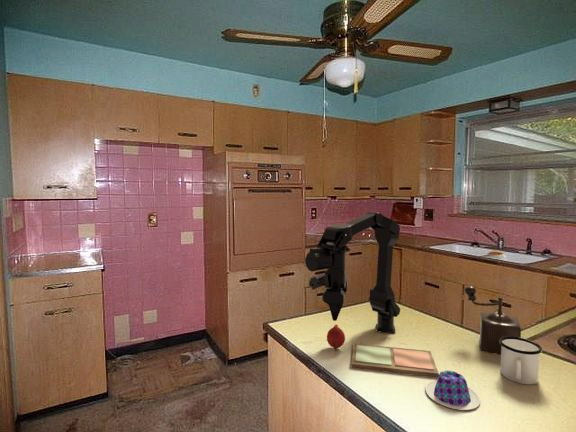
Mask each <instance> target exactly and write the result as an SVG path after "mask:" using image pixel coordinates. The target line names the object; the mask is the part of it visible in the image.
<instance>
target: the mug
mask: <svg viewBox="0 0 576 432" xmlns="http://www.w3.org/2000/svg"><path fill="white" fill-rule="evenodd" d="M499 343H500V345H501V355H500V368H499V369H500V373H501V375H502V376H503V377H505V378H506V379H508V380H510V381H512V382H515V383H518V384H522V385H536V384H537V383H538V382H539V376H540V375H539V372H540V370H539V369H540V354H541V353H542V352H543V348H542V346H541V345H540V344H538V343H537V342H535V341H533V340H531V339H528V338H525V337H521V338H520V337H513V336H506V337H502V338H500V339H499Z"/></svg>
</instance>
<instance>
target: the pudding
mask: <svg viewBox="0 0 576 432" xmlns="http://www.w3.org/2000/svg"><path fill="white" fill-rule="evenodd" d="M425 385H426V386H425V392H426V394H427V395H428V397H429V398H430V399H431V400H433V401H434V402H436V403H438V404H440V405H441V406H444V407H447V408H449V409H454V410H460V411H461V410H462V411H467V410H468V411H469V410H474V409H476V408H477V407H479V406H480V404H481V399H480V396H479V394H477V393H476V392H475V391H474V390H473V389H471V387H468V382H467V380H466V379H465V377H464V375H462V374H461V373H458V372H456V371H452V370H451V371H450V370H444V371H440V372H439V376H438V378H437V379H436V380H432V381H429V382H428V383H427V384H425ZM469 403H470V404H469Z"/></svg>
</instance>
